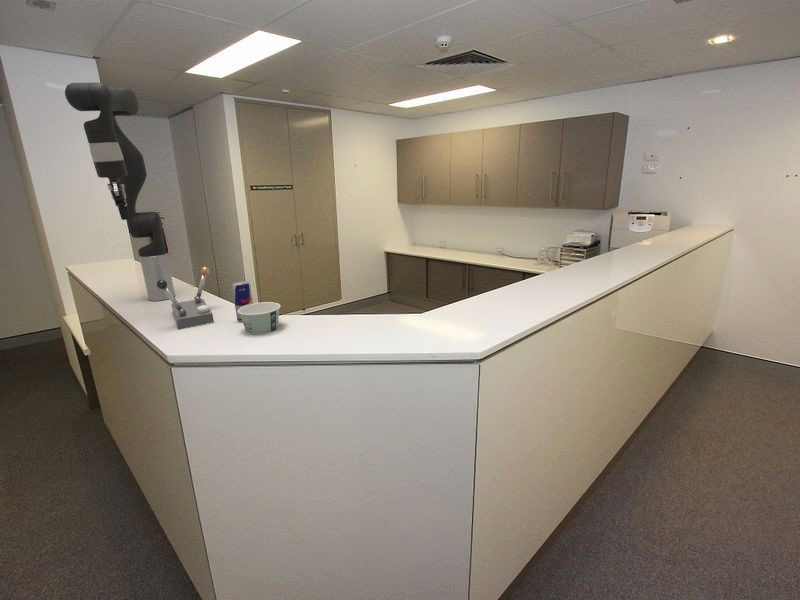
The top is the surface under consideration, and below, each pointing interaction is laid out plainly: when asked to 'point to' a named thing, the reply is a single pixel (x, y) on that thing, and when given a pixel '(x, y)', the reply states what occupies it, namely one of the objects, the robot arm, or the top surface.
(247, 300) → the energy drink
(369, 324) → the top surface
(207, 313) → the control panel
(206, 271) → the orange knob lever
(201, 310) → the push button
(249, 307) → the food container
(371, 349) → the top surface
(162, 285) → the black knob lever
